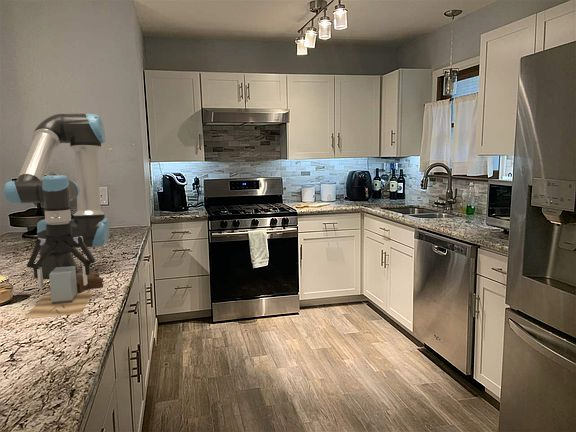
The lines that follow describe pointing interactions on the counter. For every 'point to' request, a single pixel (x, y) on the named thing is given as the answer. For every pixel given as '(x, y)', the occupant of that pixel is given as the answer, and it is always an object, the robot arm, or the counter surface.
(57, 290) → the grey rectangular block
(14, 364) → the counter surface
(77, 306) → the board
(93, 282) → the decorative item
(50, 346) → the counter surface
